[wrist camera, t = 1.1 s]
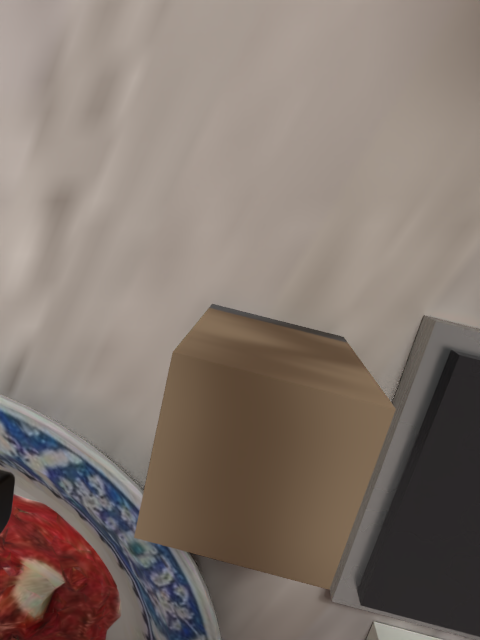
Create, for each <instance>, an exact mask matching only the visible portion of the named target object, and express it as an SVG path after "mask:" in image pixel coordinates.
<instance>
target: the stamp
mask: <svg viewBox="0 0 480 640" xmlns="http://www.w3.org/2000/svg"><path fill="white" fill-rule="evenodd" d="M395 411H396V408H395V407H394V406H393V404H392V403H391V402H390V400H389V399H388V397H387V396H386V395H385V393H384V392H383V391H382V389H381V388H380V386H379V385H378V384H377V382H376V381H375V380H374V378H373V377H372V376H371V374H370V373H369V371H368V370H367V369H366V367H365V366H364V365H363V363H362V362H361V360H360V359H359V358H358V356H357V355H356V354H355V352H354V351H353V349H352V348H351V347H350V345H349V344H348V343H347V341H346V340H345V338H344V337H341V336H338V335H334V334H330V333H326V332H322V331H318V330H314V329H310V328H306V327H302V326H298V325H294V324H290V323H286V322H282V321H278V320H274V319H270V318H266V317H262V316H258V315H254V314H250V313H246V312H242V311H238V310H234V309H230V308H226V307H222V306H219V305H215V304H212V305H211V306H210V308H209V309H208V310H207V311H206V312H205V314H204V315H203V316H202V317H201V318H200V320H199V321H198V322H197V323H196V325H195V326H194V327H193V328H192V329H191V331H190V332H189V333H188V334H187V335H186V337H185V338H184V339H183V340H182V342H181V343H180V344H179V345H178V346H177V348H176V349H175V350H174V351H173V354H172V358H171V363H170V368H169V373H168V377H167V382H166V387H165V392H164V397H163V401H162V406H161V411H160V416H159V420H158V425H157V430H156V435H155V440H154V444H153V449H152V454H151V459H150V463H149V468H148V473H147V478H146V483H145V487H144V492H143V497H142V502H141V507H140V511H139V516H138V521H137V526H136V530H135V535H134V538H137V539H141V540H144V541H148V542H152V543H156V544H160V545H163V546H167V547H171V548H175V549H178V550H182V551H186V552H190V553H193V554H197V555H201V556H205V557H208V558H212V559H216V560H220V561H223V562H227V563H231V564H235V565H238V566H242V567H246V568H250V569H253V570H257V571H261V572H265V573H268V574H272V575H276V576H280V577H283V578H287V579H291V580H295V581H299V582H302V583H306V584H310V585H314V586H317V587H321V588H325V589H330V587H331V584H332V581H333V578H334V576H335V573H336V570H337V568H338V565H339V562H340V560H341V557H342V554H343V551H344V549H345V546H346V543H347V541H348V538H349V535H350V532H351V530H352V527H353V524H354V522H355V519H356V516H357V513H358V511H359V508H360V505H361V503H362V500H363V497H364V495H365V492H366V489H367V486H368V484H369V481H370V478H371V476H372V473H373V470H374V467H375V465H376V462H377V459H378V457H379V454H380V451H381V449H382V446H383V443H384V440H385V438H386V435H387V432H388V430H389V427H390V424H391V421H392V419H393V416H394V413H395Z"/></svg>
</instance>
